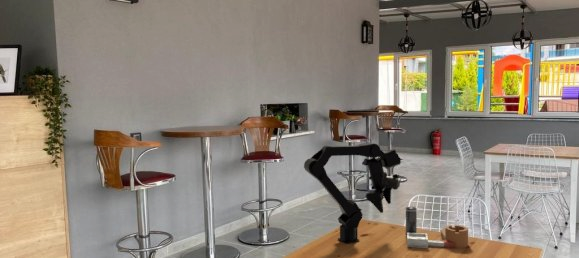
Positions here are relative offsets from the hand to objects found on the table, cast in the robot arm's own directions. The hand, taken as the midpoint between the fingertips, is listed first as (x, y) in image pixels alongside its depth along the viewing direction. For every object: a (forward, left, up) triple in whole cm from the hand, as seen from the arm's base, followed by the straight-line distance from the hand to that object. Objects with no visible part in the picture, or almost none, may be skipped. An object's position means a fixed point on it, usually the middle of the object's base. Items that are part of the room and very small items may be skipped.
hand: (385, 208), depth 187 cm
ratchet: (+7, -18, -12) cm, 23 cm away
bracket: (+19, -19, -13) cm, 30 cm away
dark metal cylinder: (+11, -3, -12) cm, 17 cm away
